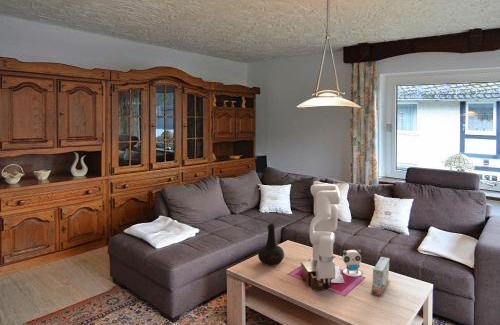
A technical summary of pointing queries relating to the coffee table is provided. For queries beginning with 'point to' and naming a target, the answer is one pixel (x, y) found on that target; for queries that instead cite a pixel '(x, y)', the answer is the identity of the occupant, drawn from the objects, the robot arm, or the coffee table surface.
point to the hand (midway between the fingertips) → (325, 289)
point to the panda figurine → (352, 262)
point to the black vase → (271, 249)
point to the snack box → (380, 276)
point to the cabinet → (308, 270)
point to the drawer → (316, 282)
